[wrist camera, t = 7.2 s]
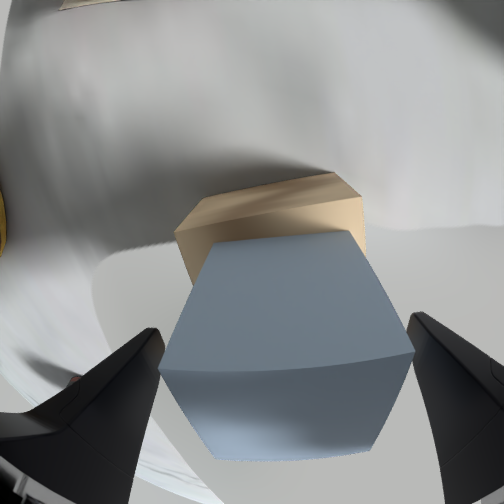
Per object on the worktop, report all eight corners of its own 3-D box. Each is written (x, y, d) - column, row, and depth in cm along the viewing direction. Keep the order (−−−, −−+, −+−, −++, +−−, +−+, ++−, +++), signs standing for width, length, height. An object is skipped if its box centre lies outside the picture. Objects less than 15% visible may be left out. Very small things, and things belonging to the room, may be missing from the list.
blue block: (349, 230, 10) (415, 351, 4) (344, 332, 12) (369, 450, 6) (213, 242, 10) (158, 368, 5) (236, 340, 12) (215, 459, 7)
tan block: (333, 171, 14) (361, 196, 9) (345, 284, 16) (365, 340, 12) (203, 197, 15) (173, 232, 10) (236, 302, 18) (224, 360, 13)
